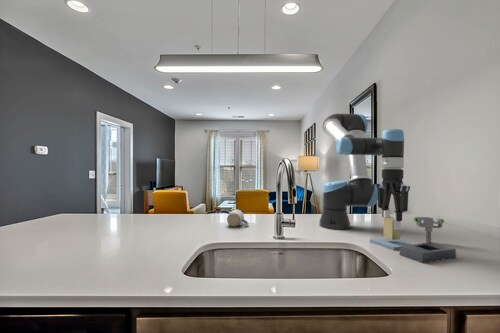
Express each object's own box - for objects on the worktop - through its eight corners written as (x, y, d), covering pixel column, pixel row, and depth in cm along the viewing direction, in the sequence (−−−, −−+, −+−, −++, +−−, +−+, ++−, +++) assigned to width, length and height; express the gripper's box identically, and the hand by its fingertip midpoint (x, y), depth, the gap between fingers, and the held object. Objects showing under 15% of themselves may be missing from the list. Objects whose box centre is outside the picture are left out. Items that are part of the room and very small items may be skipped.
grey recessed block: (399, 254, 87) (399, 246, 87) (431, 250, 92) (431, 242, 92) (422, 263, 79) (422, 253, 79) (455, 257, 85) (455, 248, 85)
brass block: (383, 237, 100) (383, 217, 100) (390, 236, 101) (391, 216, 101) (392, 240, 96) (392, 219, 96) (399, 239, 98) (400, 218, 98)
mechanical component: (444, 244, 100) (444, 219, 101) (416, 242, 103) (416, 217, 103) (440, 242, 103) (440, 217, 104) (413, 240, 105) (413, 216, 106)
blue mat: (369, 241, 102) (369, 239, 102) (389, 239, 106) (389, 237, 106) (393, 250, 92) (393, 247, 92) (414, 247, 95) (414, 244, 95)
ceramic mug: (225, 227, 123) (226, 211, 123) (229, 223, 132) (230, 208, 132) (247, 228, 122) (247, 212, 122) (249, 224, 130) (250, 210, 130)
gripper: (368, 168, 106) (367, 223, 106) (405, 168, 90) (404, 233, 90) (381, 168, 108) (380, 222, 108) (420, 169, 92) (419, 232, 92)
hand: (391, 227), depth 99 cm, fingers closed on brass block, 4 cm apart
